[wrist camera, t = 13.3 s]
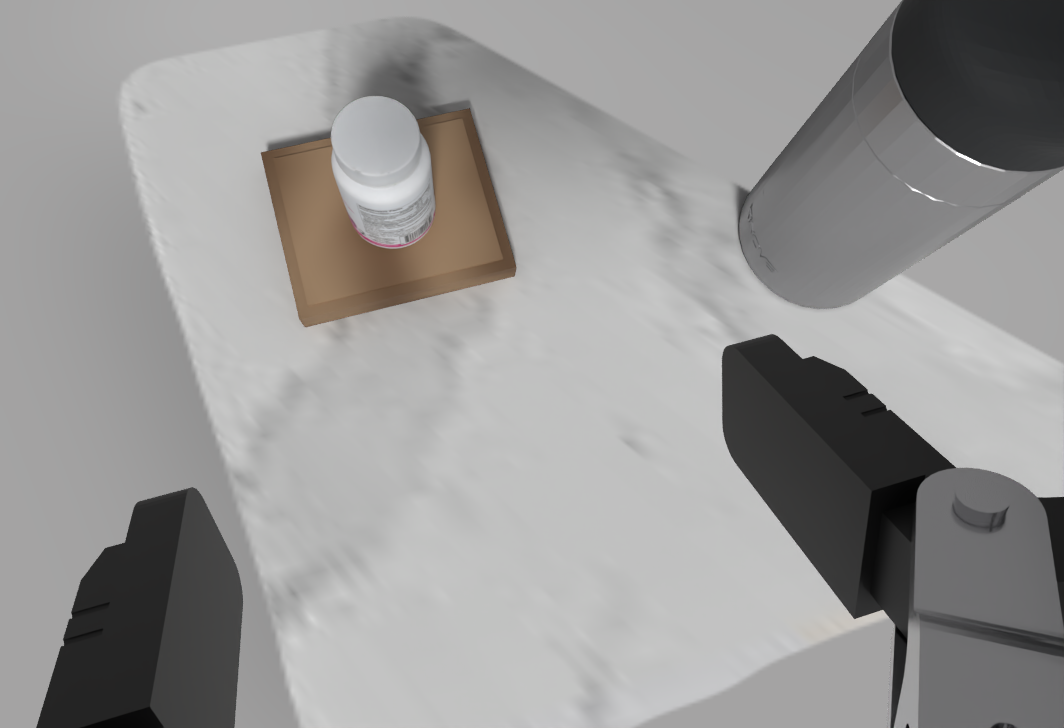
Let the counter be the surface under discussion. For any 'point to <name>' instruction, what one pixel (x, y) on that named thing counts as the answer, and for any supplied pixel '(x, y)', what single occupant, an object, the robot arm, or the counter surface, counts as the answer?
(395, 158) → the pill bottle
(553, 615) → the counter surface
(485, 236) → the walnut tray
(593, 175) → the counter surface
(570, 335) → the counter surface
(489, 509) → the counter surface
